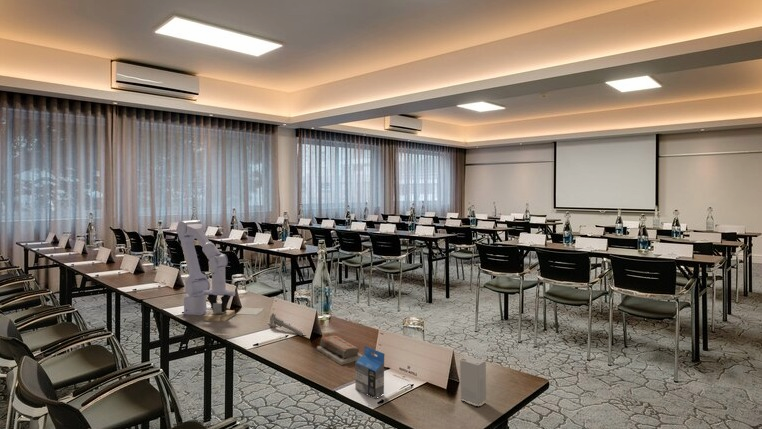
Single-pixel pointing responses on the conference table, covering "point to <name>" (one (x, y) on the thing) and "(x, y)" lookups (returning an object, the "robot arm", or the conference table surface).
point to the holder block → (219, 316)
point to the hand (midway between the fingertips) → (219, 311)
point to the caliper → (283, 324)
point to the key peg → (218, 308)
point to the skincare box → (473, 380)
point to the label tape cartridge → (370, 373)
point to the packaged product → (339, 350)
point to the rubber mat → (250, 311)
